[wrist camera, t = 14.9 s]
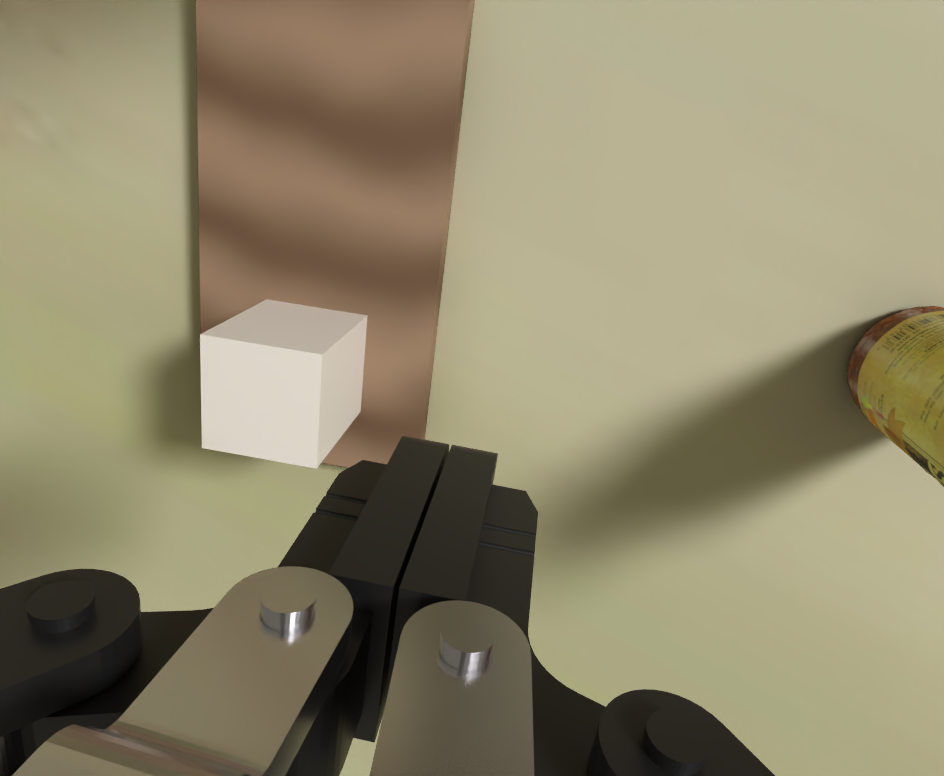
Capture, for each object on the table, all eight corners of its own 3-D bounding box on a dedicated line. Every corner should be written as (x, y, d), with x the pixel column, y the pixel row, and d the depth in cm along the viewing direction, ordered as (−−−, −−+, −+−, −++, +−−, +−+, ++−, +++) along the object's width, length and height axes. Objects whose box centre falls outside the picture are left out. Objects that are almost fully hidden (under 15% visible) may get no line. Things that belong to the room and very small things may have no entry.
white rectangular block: (266, 299, 34) (199, 334, 28) (367, 315, 34) (322, 354, 28) (264, 395, 36) (202, 447, 30) (360, 411, 36) (316, 468, 30)
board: (212, -33, 31) (195, -41, 29) (474, -1, 30) (469, -8, 28) (215, 430, 39) (202, 441, 38) (421, 467, 38) (415, 479, 37)
